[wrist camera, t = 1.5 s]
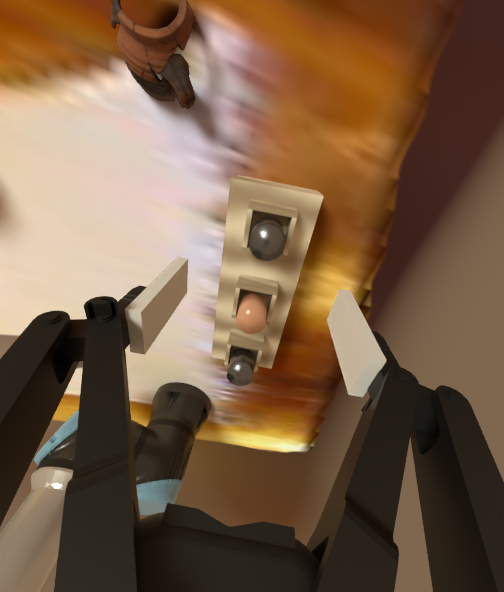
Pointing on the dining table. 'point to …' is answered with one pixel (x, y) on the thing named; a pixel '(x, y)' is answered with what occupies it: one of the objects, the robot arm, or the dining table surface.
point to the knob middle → (252, 314)
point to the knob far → (241, 367)
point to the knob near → (267, 239)
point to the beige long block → (261, 263)
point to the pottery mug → (158, 54)
